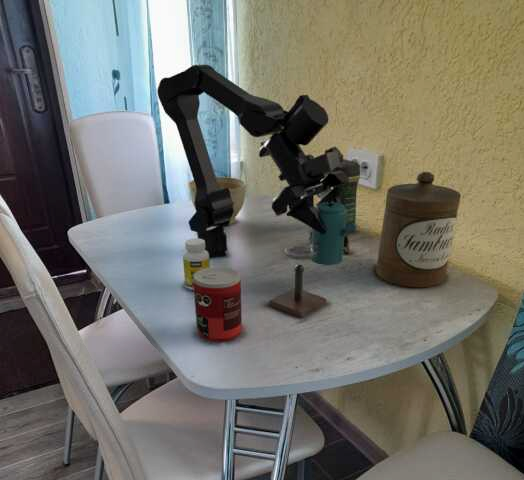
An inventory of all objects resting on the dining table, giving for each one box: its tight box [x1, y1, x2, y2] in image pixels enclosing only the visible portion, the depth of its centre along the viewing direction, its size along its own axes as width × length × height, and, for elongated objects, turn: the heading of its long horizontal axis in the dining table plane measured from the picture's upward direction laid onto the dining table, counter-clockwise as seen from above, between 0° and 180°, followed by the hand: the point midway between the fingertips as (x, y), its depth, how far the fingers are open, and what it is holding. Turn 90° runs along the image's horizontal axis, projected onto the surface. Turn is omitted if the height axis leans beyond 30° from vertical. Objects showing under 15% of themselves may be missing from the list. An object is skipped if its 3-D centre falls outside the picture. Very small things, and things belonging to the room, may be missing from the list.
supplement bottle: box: [182, 237, 211, 291], centre depth 105 cm, size 5×5×10 cm
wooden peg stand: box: [268, 264, 327, 319], centre depth 97 cm, size 8×8×8 cm
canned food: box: [193, 266, 243, 343], centre depth 87 cm, size 8×8×11 cm
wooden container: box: [375, 171, 462, 288], centre depth 107 cm, size 15×15×22 cm
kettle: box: [284, 200, 358, 266], centre depth 95 cm, size 9×15×12 cm, turn 140°
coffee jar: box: [326, 158, 361, 234], centre depth 134 cm, size 10×8×19 cm
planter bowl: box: [187, 176, 248, 225], centre depth 143 cm, size 16×16×11 cm
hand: (334, 228), depth 98 cm, fingers closed on kettle, 6 cm apart
